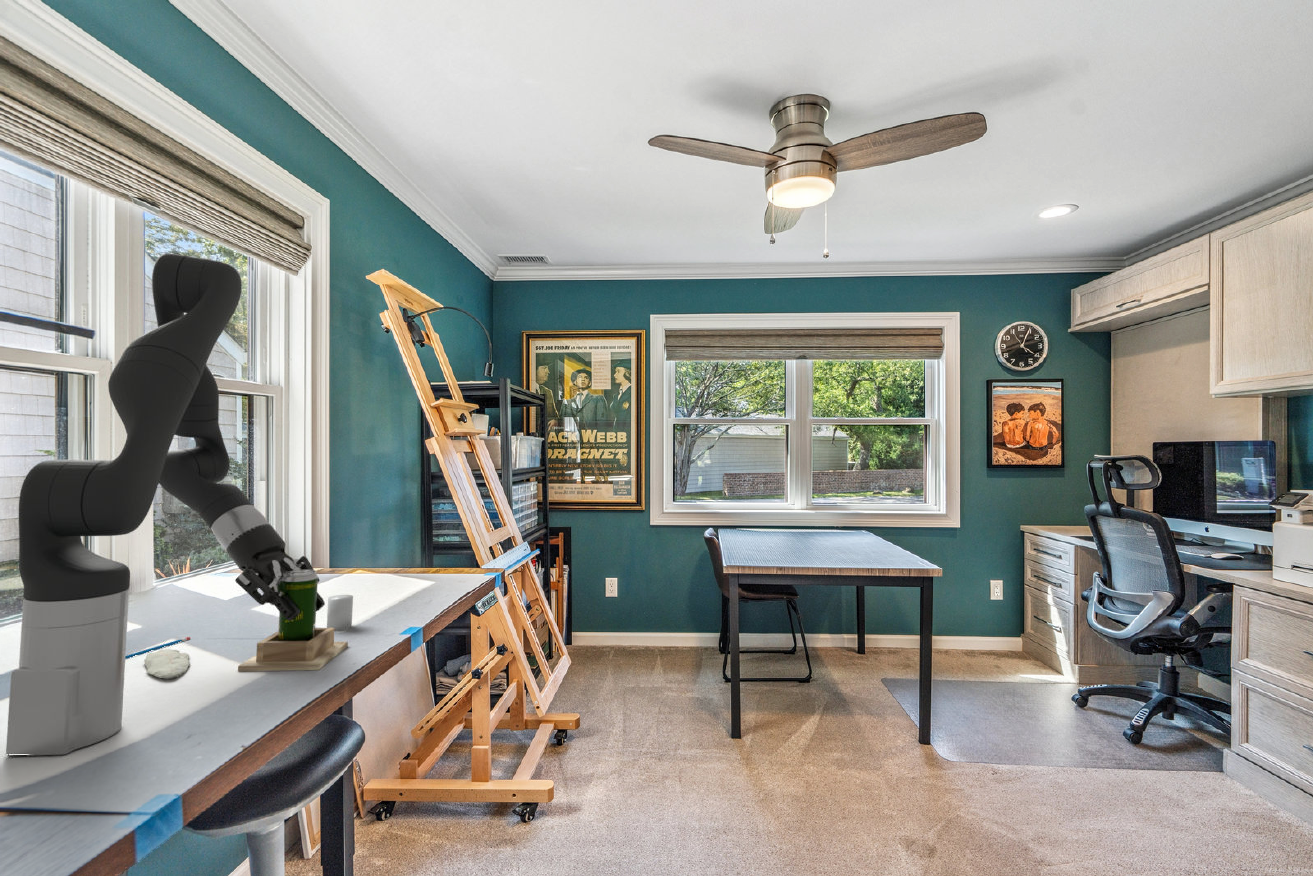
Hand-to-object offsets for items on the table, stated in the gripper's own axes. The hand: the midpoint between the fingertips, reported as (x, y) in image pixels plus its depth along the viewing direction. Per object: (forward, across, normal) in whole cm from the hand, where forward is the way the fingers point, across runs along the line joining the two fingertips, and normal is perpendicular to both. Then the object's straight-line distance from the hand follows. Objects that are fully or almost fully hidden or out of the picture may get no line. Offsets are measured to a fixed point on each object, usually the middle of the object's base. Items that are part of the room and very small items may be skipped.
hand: (307, 612), depth 101 cm
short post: (+1, +17, +10) cm, 20 cm away
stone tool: (-6, -8, +18) cm, 21 cm away
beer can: (+3, 0, +5) cm, 6 cm away
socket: (+4, 0, +7) cm, 8 cm away
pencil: (-13, -4, +26) cm, 29 cm away
